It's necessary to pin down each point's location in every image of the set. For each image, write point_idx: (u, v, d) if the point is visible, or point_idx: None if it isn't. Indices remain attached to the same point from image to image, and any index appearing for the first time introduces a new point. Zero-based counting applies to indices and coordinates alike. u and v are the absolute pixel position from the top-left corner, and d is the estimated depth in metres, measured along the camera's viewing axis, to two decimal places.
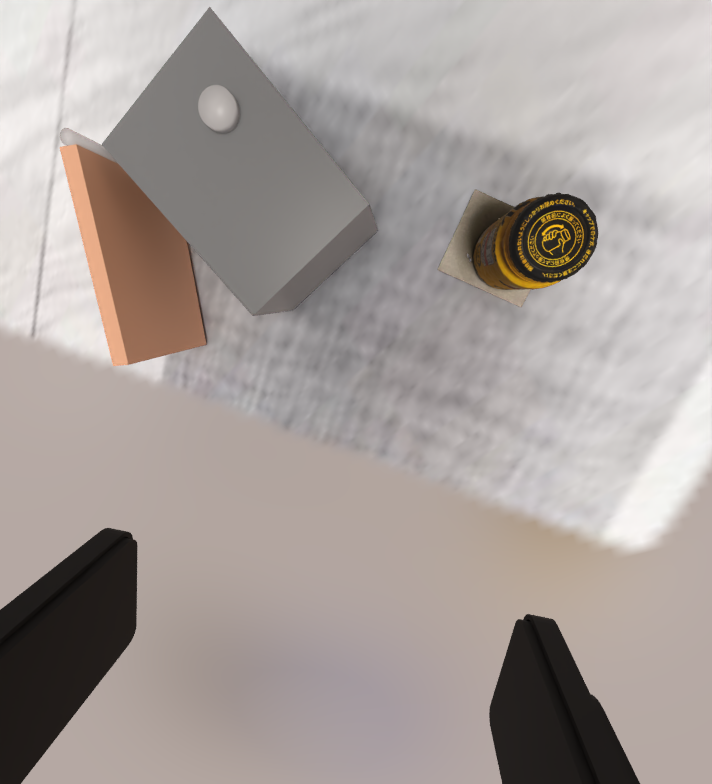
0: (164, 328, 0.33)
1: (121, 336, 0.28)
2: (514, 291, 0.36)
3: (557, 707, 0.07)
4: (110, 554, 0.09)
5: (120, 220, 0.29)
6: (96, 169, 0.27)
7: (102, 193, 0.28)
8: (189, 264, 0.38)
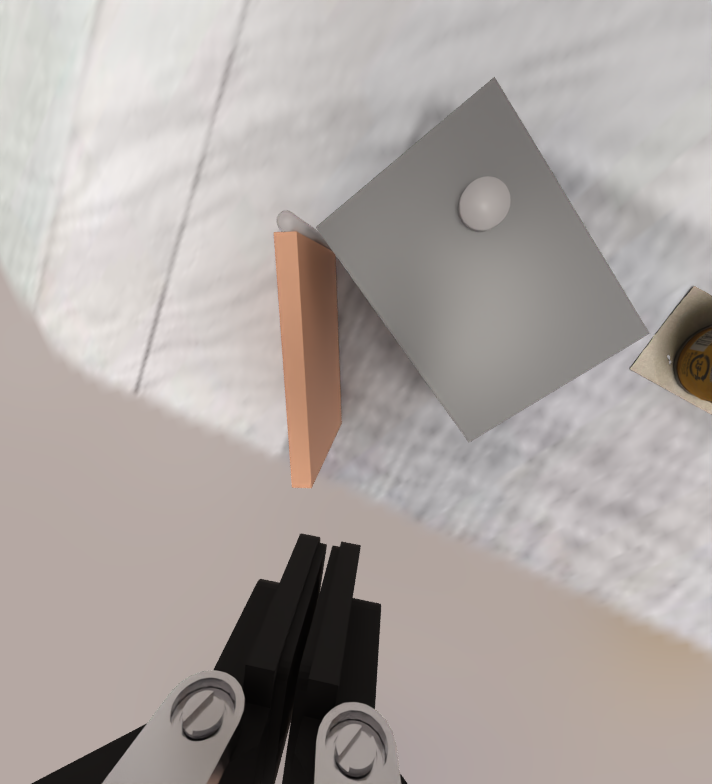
0: (326, 424, 0.28)
1: (309, 456, 0.23)
2: None
3: (321, 601, 0.08)
4: (317, 557, 0.10)
5: (312, 311, 0.24)
6: (304, 255, 0.22)
7: (306, 284, 0.22)
8: (337, 335, 0.33)
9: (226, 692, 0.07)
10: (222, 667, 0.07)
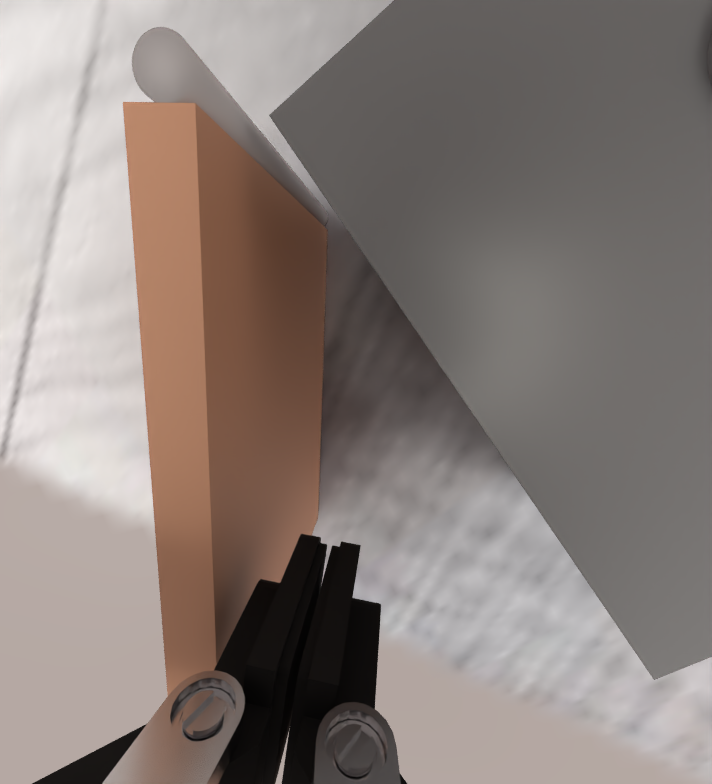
0: (283, 561, 0.14)
1: None
2: None
3: (321, 601, 0.08)
4: (317, 558, 0.10)
5: (257, 346, 0.10)
6: (233, 198, 0.08)
7: (235, 280, 0.08)
8: (321, 375, 0.19)
9: (227, 692, 0.07)
10: (223, 667, 0.07)
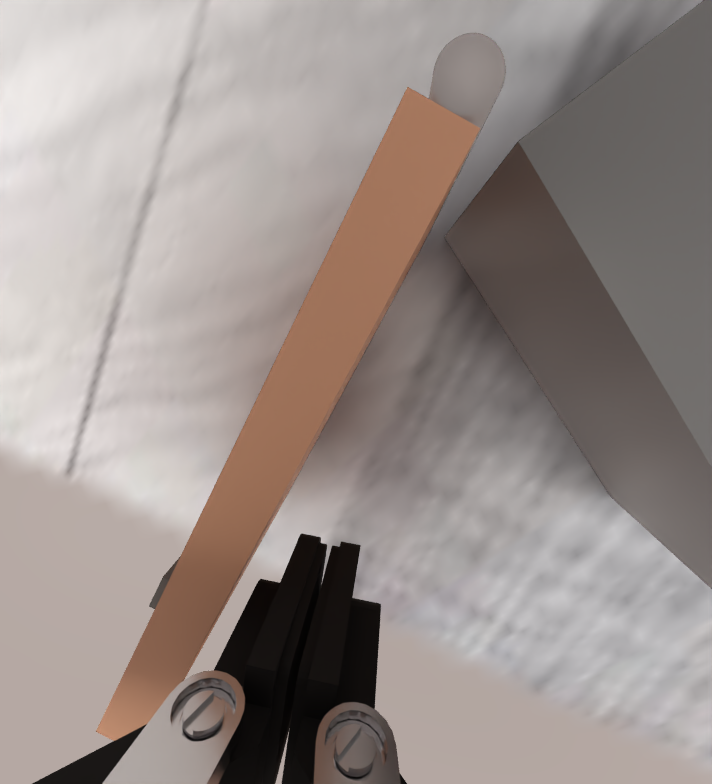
0: None
1: None
2: None
3: (321, 601, 0.08)
4: (317, 558, 0.10)
5: None
6: (433, 218, 0.07)
7: (391, 294, 0.08)
8: None
9: (226, 692, 0.07)
10: (222, 667, 0.07)
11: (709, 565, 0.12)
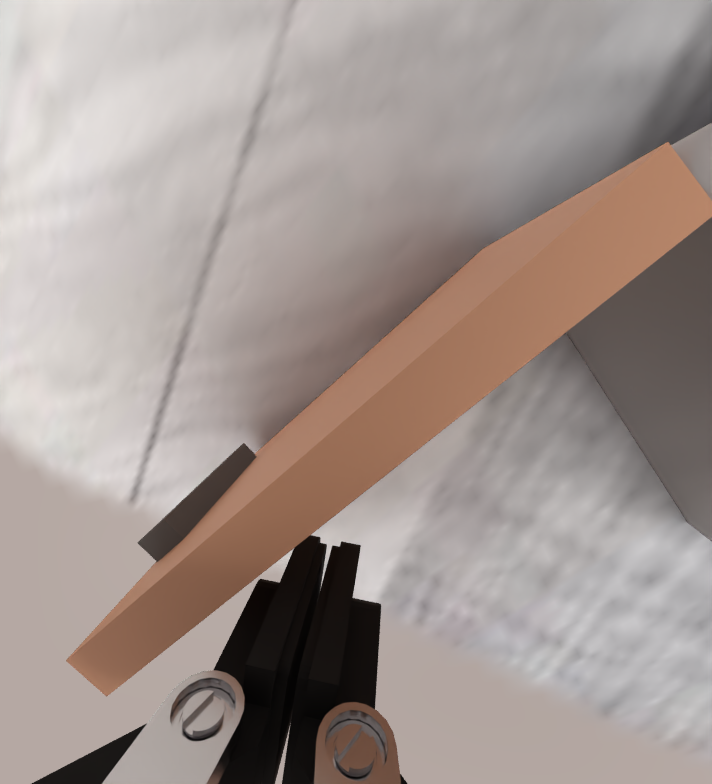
0: None
1: (163, 649, 0.08)
2: None
3: (321, 601, 0.08)
4: (317, 558, 0.10)
5: None
6: None
7: None
8: None
9: (226, 692, 0.07)
10: (222, 667, 0.07)
11: None
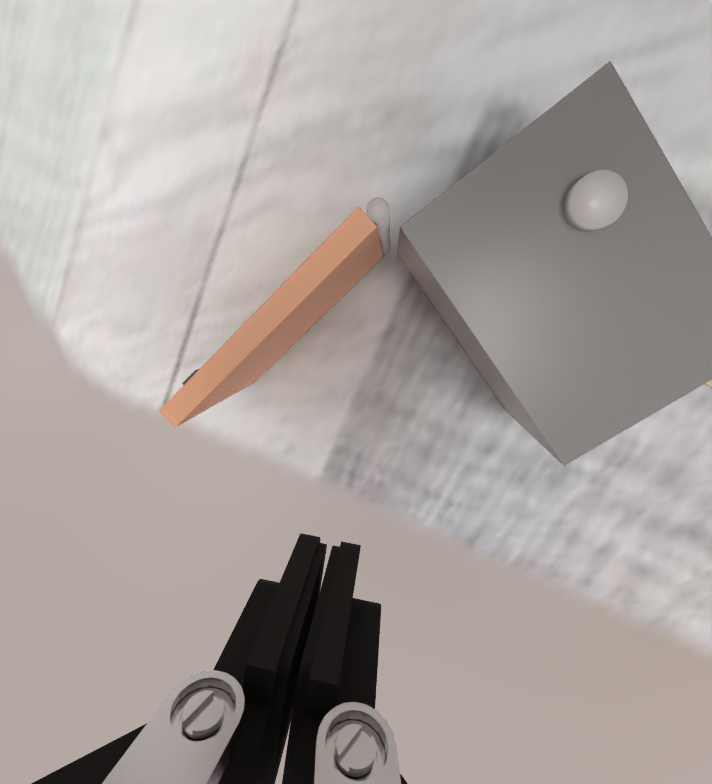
0: (240, 381, 0.26)
1: (200, 402, 0.21)
2: None
3: (321, 601, 0.08)
4: (317, 558, 0.10)
5: (322, 292, 0.22)
6: (362, 248, 0.20)
7: (339, 270, 0.20)
8: (319, 318, 0.31)
9: (226, 692, 0.07)
10: (222, 667, 0.07)
11: (522, 417, 0.24)
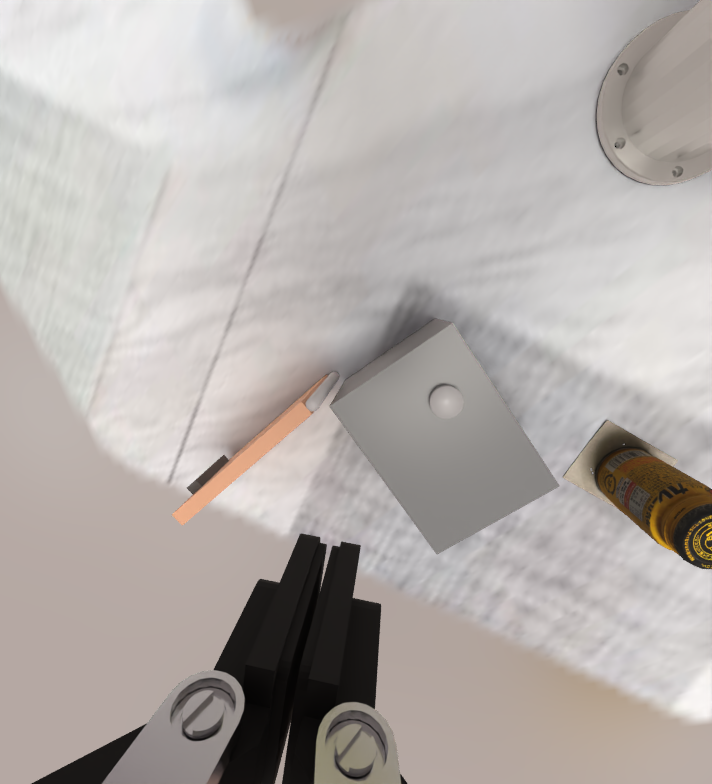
0: None
1: (199, 510, 0.32)
2: None
3: (321, 601, 0.08)
4: (317, 558, 0.10)
5: None
6: None
7: None
8: None
9: (226, 692, 0.07)
10: (222, 667, 0.07)
11: None
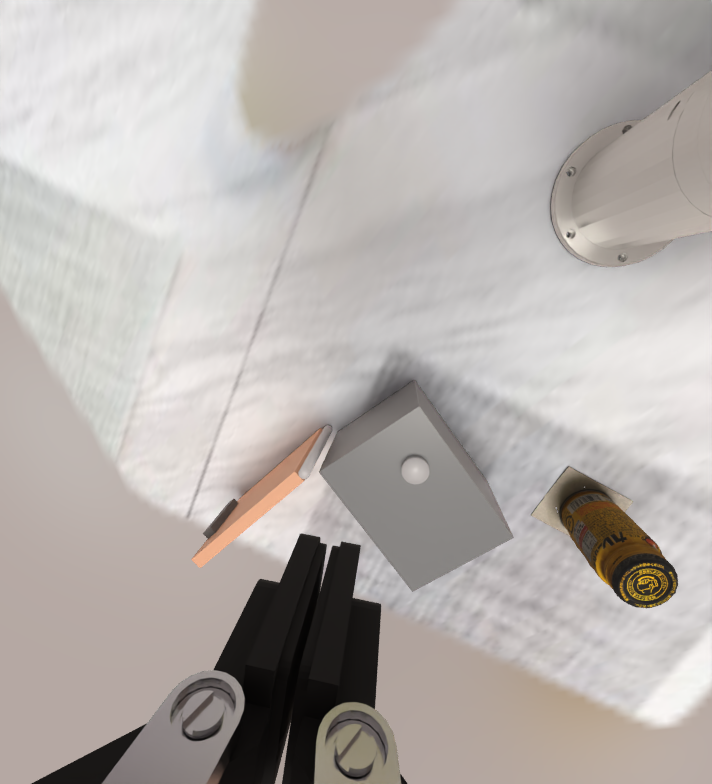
0: None
1: (213, 556, 0.38)
2: None
3: (321, 601, 0.08)
4: (317, 557, 0.10)
5: None
6: None
7: None
8: None
9: (226, 692, 0.07)
10: (222, 667, 0.07)
11: None
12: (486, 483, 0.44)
